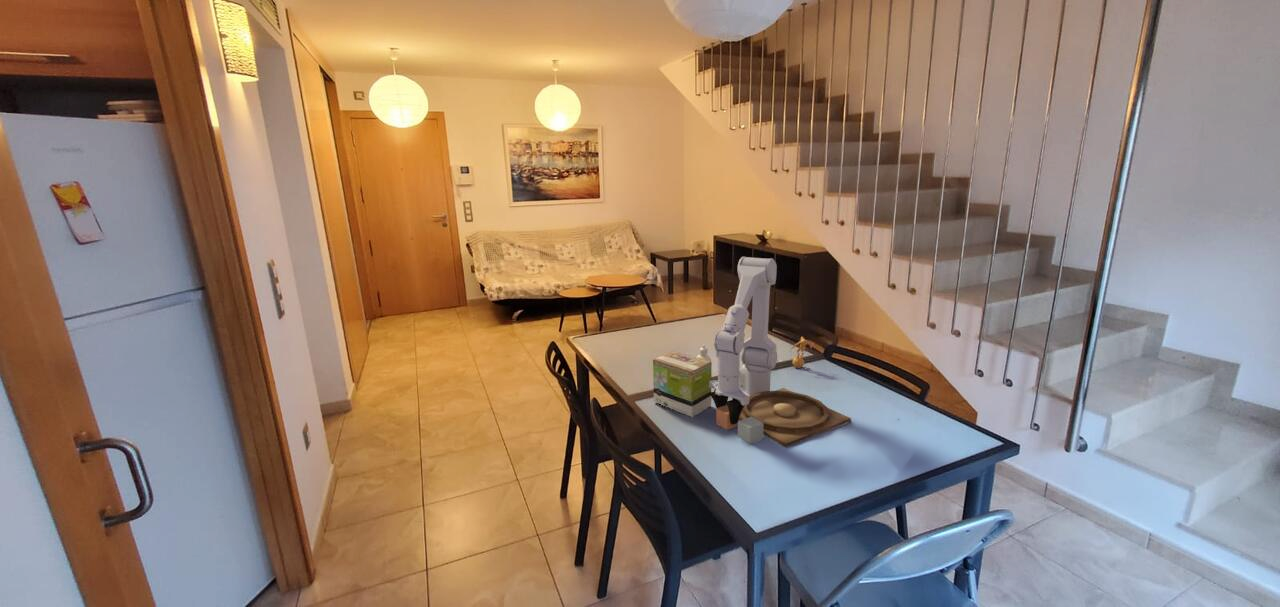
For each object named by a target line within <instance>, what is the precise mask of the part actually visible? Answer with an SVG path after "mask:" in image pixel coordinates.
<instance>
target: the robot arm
mask: <svg viewBox="0 0 1280 607" xmlns="http://www.w3.org/2000/svg"><path fill="white" fill-rule="evenodd" d="M777 267H778V266H777V263H776V261H775V260H774V258H761V257H749V256H748V257H747V256H741V257H740V259H739V260H738V264H737V269H736V270H737V274H738V275H737V276H738V280H739V284H738V287H737V288H738V289H737V292H736V296H735V301H734V305H731V306H730V307H728V310H727V313H726V315H725V320H724V322H723V325H722V328H721V330H719V331H717V333H716V334H715V337H714V342H713V346H714V349H715V357H717V379H711V381H709V387H710V388H711V389H714V390H713V391H711V399H712V401H713V403H714V405H715V408H718V407H722V406H725V405H727V406H728V409H729V414H730V423H731V424H732V425H733V424H736V423H738V420H739V417H740V414H741V411H742V409H743V408H744V406H745V405H747V404H749V396H750V395H753V394H757V393H760V392H766V391H771V373H772V370H773V369H774V368H775V367H776V365H777V361H778V352H777V343H776V342H774V341H773V340H772V339H770V338H769V336H768V332H769V315H770V314H769V313H770V295H771V286H773V285H776V281H777V272H778V271H777ZM751 300H752V308H751V309H752V310H751V311H752V312H751V332H750V333H751V334H750V337H749V338H747V339H745V336H746V334H745V329H746V327H747V323H748V320H749V317H750V313H749V310H748V308H749V305H750V303H751ZM740 361H741V362H742V366H741V367H740ZM729 398H732V399H730V400H729Z"/></svg>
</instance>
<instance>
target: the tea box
mask: <svg viewBox="0 0 1280 607" xmlns="http://www.w3.org/2000/svg"><path fill="white" fill-rule="evenodd" d="M712 367H713V366H712V360H711V361H707V360H703V359H700V358H697V356H696V357H695V356H692V355H688V354H685V353H682V352H679V351H676V350H672V351H670V352H667V353H665V354H663V355H660V356H658V357H656V358H653V359H652V371H653V372H652V378H653V380H652V381H653V383H652V384H653V403H654V402H656V403H659V404H661V405H660V406H662V405H664V406H666V407H665V408H667V407H669V408H671V409H670V410H672V409H674V410H676V411H675V412H677V411H679V412H681V413H680V414H682V413H684V414H686V415H685V416H687V415H689V416H691V417H690V418H693V417H695V416H697V415H698V414H697V413H699V412H700V413H702V412H703V410H704V409H705V410H707V409H708V407H709V408H710V407H711V406H712V397H711V392H712V388H710V387H709V381H711V380H712V375H713V374H712V372H713V371H712ZM656 403H655V404H656ZM659 404H658V405H659ZM664 406H663V407H664ZM669 408H668V409H669ZM706 408H707V409H706ZM674 410H673V411H674ZM705 410H704V411H705ZM701 411H702V412H701ZM679 412H678V413H679ZM700 413H699V414H700ZM684 414H683V415H684ZM696 414H697V415H696ZM694 415H695V416H694ZM689 416H688V417H689ZM692 416H693V417H692Z"/></svg>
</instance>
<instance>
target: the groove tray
mask: <svg viewBox="0 0 1280 607" xmlns="http://www.w3.org/2000/svg"><path fill="white" fill-rule="evenodd" d="M749 417H753V418H755V419H756V420H758V421H760V422H762V423H763V436H765V437H767V438H768V439H770V440H772V441H773V442H776V443H777V444H779V445H781V446H782V447H783V448H787V447H789V446H793V445H795V444H798V443H800V442H803V441H806V440H807V439H810V438H813V437H815V436H818V435H820V434H823V433H825V432H828V431H830V430H833V429H836V428H838V427H841V426H842V425H846V424H849V423H850V422H851V421H852V418H851V417H849V416H847V415H845V414H843V413H840V412H838V411H836V410H834V409H831V408H829V407H828V406H826V405H825V404H824V403H823V402H822V401H821V400H819V399H816V398H814V397H812V396H810V395H807V394H803V393H799V392H795V391H792V390H789V389H787V388H785V387H783V388H780V389H776V390H770V391H766V392H760V393H757V394H753V395H750V396H749V404H747V405H745V406H744V408H743V409H742V411H741V414H740V420H743V419H746V418H749Z"/></svg>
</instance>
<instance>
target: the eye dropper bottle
mask: <svg viewBox="0 0 1280 607" xmlns="http://www.w3.org/2000/svg"><path fill="white" fill-rule="evenodd" d="M696 358H700V359H703V360H707V361H711V362H712V360H711V357H710V355H708V348H707V347H706V345H705V344H702V346H701V347H700V349H699V354H698V355H697V356H696Z"/></svg>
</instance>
